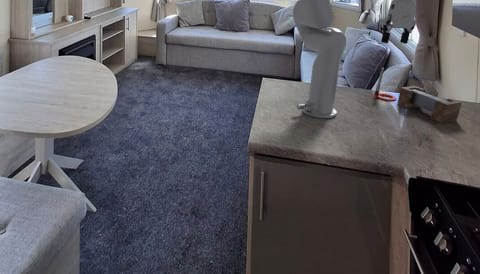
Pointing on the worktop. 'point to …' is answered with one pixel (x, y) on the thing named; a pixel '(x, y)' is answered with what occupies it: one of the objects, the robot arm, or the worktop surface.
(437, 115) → the posts
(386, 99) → the tow hook
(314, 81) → the robot arm
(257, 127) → the worktop surface
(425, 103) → the rail
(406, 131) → the worktop surface
